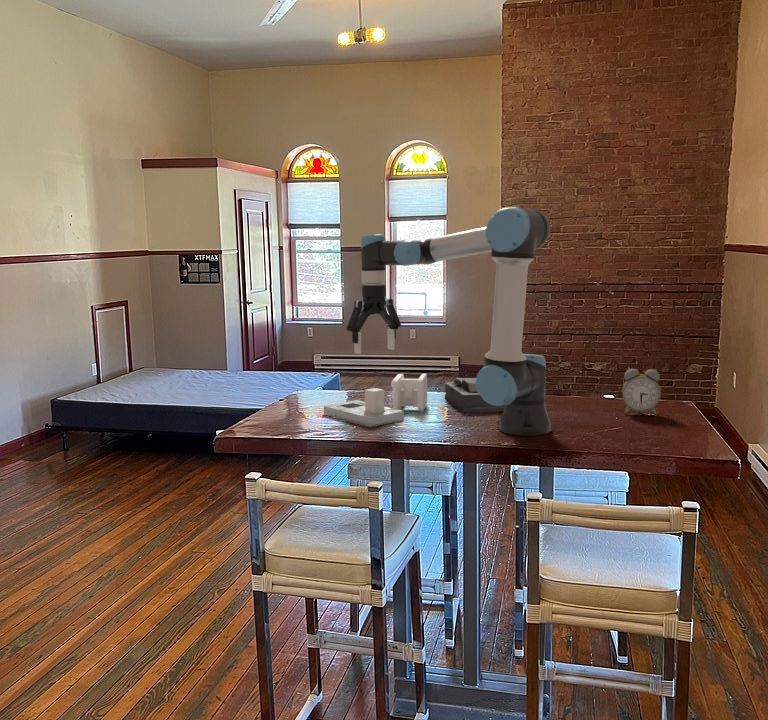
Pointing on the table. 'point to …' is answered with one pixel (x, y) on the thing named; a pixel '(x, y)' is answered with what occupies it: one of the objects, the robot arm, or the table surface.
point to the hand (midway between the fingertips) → (374, 351)
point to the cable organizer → (409, 392)
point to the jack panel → (362, 414)
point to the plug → (374, 401)
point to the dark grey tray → (467, 396)
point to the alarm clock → (641, 390)
